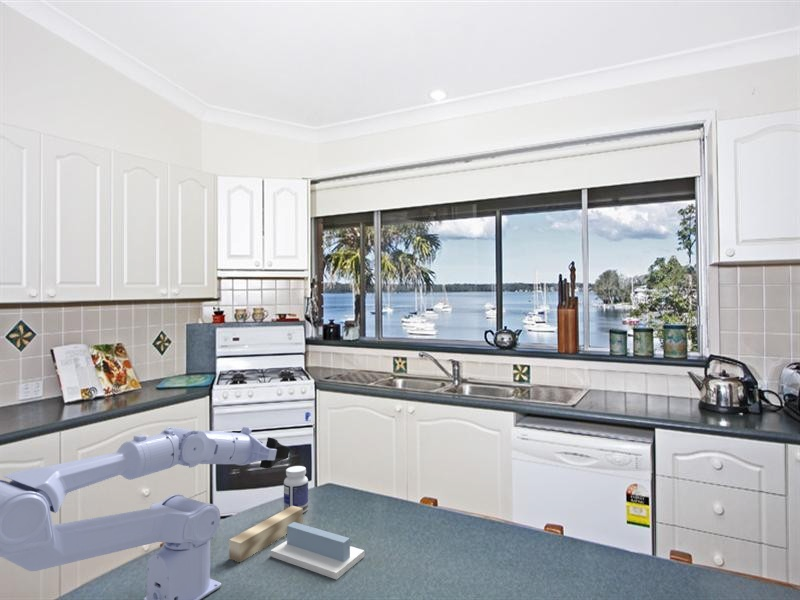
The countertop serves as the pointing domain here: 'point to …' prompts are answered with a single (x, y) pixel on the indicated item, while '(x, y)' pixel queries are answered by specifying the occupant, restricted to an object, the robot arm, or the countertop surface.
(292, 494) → the pill bottle
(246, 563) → the countertop surface
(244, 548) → the beam
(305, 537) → the ridge stand
